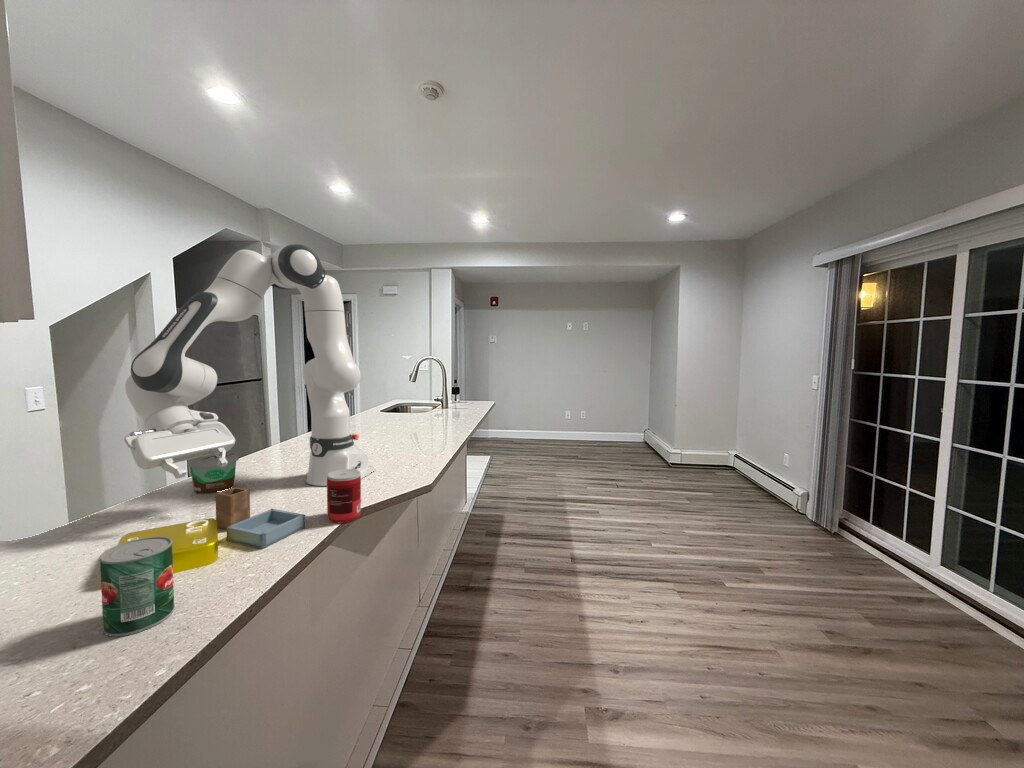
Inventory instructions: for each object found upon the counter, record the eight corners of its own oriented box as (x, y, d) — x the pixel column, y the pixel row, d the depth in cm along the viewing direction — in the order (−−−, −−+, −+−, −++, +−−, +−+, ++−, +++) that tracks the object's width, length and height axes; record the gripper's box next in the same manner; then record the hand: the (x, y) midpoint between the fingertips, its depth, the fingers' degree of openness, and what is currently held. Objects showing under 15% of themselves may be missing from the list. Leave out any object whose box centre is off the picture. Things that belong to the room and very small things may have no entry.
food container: (194, 498, 107) (193, 462, 106) (187, 493, 111) (186, 458, 110) (246, 487, 117) (245, 454, 116) (238, 482, 121) (237, 450, 120)
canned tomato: (91, 626, 58) (87, 553, 57) (157, 597, 65) (155, 532, 64) (119, 644, 54) (116, 567, 54) (186, 610, 62) (183, 542, 61)
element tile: (123, 554, 78) (122, 531, 78) (217, 535, 88) (216, 514, 87) (107, 591, 67) (106, 563, 66) (218, 564, 76) (217, 540, 75)
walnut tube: (235, 519, 95) (235, 487, 94) (250, 522, 93) (249, 489, 93) (216, 527, 90) (215, 493, 90) (231, 530, 89) (230, 496, 88)
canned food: (352, 508, 103) (352, 467, 103) (366, 517, 98) (366, 474, 97) (322, 516, 98) (321, 472, 97) (334, 526, 92) (334, 480, 92)
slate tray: (272, 520, 95) (272, 508, 94) (305, 527, 92) (305, 514, 91) (226, 540, 84) (226, 527, 84) (262, 549, 81) (262, 535, 81)
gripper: (126, 424, 85) (159, 474, 83) (222, 412, 105) (250, 452, 102) (114, 443, 87) (145, 492, 85) (210, 427, 106) (238, 467, 104)
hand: (203, 470), depth 94 cm, fingers open, 8 cm apart
